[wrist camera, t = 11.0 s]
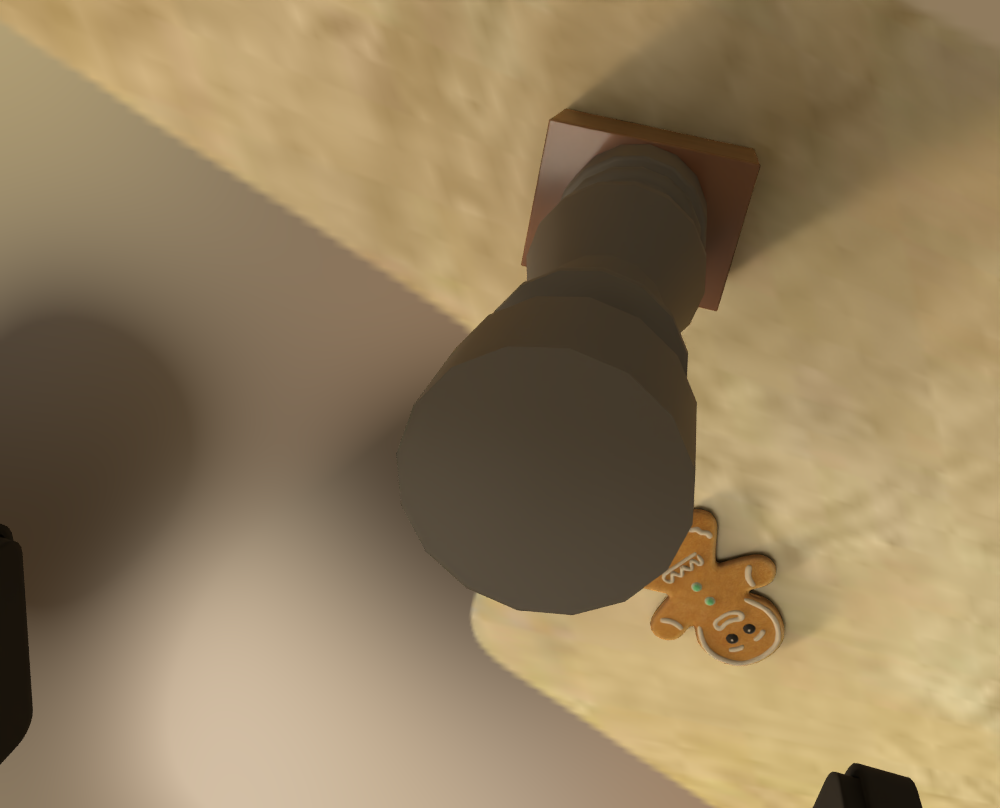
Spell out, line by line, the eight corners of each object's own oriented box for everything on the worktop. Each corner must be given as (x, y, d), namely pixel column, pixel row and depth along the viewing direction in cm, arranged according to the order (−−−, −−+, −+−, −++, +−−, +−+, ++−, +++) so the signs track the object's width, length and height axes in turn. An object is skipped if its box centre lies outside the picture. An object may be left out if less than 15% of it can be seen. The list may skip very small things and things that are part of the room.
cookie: (711, 499, 48) (828, 629, 50) (711, 491, 49) (826, 618, 51) (594, 576, 52) (706, 696, 53) (596, 567, 53) (707, 685, 54)
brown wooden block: (565, 108, 43) (549, 119, 39) (754, 148, 42) (760, 164, 38) (538, 240, 46) (520, 265, 41) (715, 281, 45) (716, 311, 40)
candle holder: (577, 130, 39) (400, 296, 16) (723, 158, 38) (752, 373, 15) (552, 270, 41) (368, 583, 19) (688, 298, 40) (668, 659, 18)
